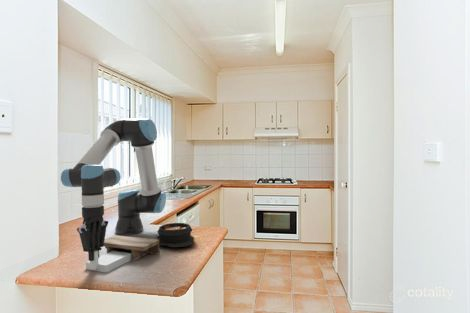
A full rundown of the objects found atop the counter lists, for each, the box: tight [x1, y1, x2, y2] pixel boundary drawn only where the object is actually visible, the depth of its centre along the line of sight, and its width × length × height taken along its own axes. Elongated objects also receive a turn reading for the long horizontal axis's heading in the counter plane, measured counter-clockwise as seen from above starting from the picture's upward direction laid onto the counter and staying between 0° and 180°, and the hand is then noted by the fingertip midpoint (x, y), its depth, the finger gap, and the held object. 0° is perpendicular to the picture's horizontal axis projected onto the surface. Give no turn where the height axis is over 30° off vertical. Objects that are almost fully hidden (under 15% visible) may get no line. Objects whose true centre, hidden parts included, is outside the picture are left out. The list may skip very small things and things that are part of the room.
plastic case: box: [85, 251, 133, 273], centre depth 119 cm, size 14×10×3 cm
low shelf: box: [103, 234, 160, 261], centre depth 129 cm, size 11×24×6 cm, turn 71°
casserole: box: [156, 222, 195, 248], centre depth 145 cm, size 25×19×8 cm
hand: (94, 268), depth 111 cm, fingers closed
